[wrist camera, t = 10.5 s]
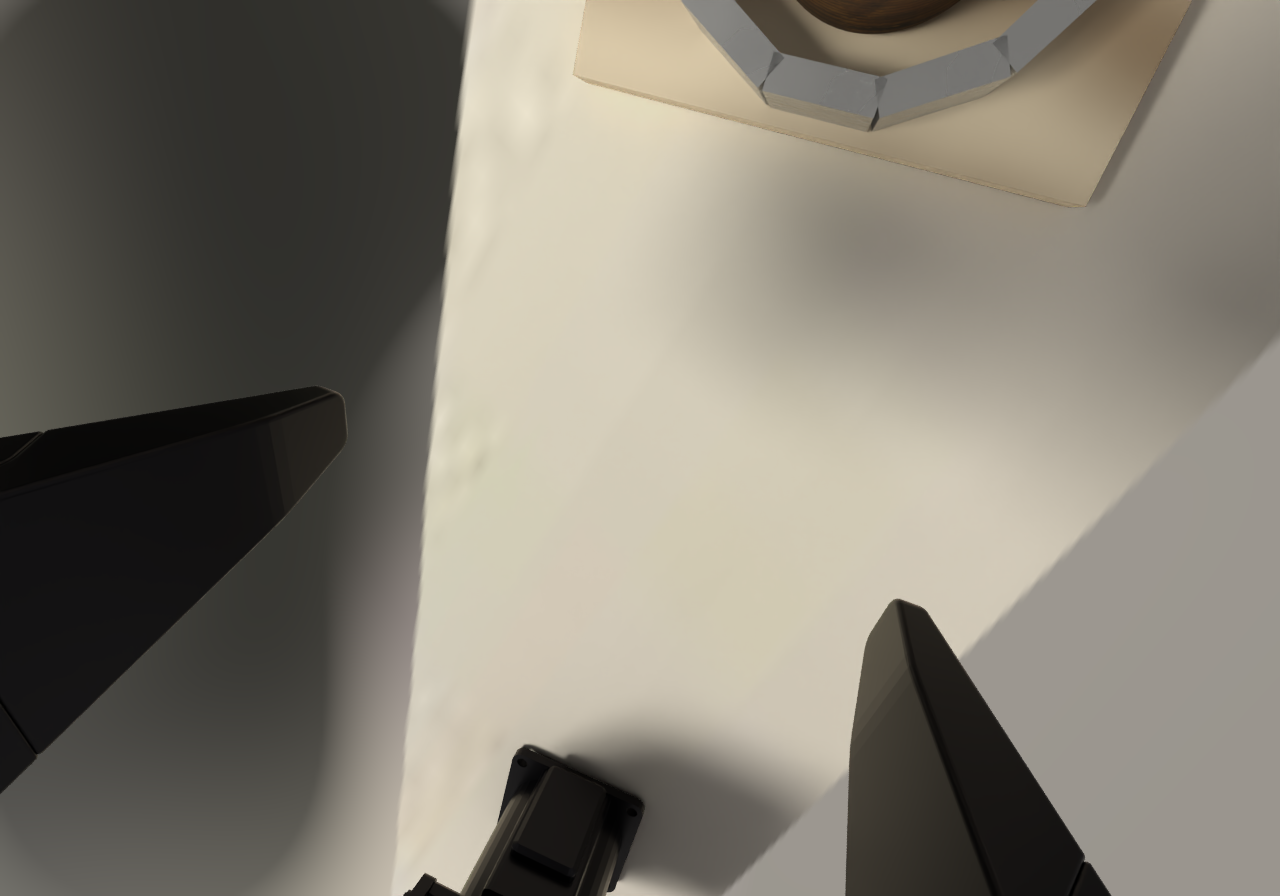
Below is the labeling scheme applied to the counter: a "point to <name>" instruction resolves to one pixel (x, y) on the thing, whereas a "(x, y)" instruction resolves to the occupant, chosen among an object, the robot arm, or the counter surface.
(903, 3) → the utensil holder
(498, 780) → the counter surface
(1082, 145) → the wooden stand with ring
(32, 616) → the robot arm
